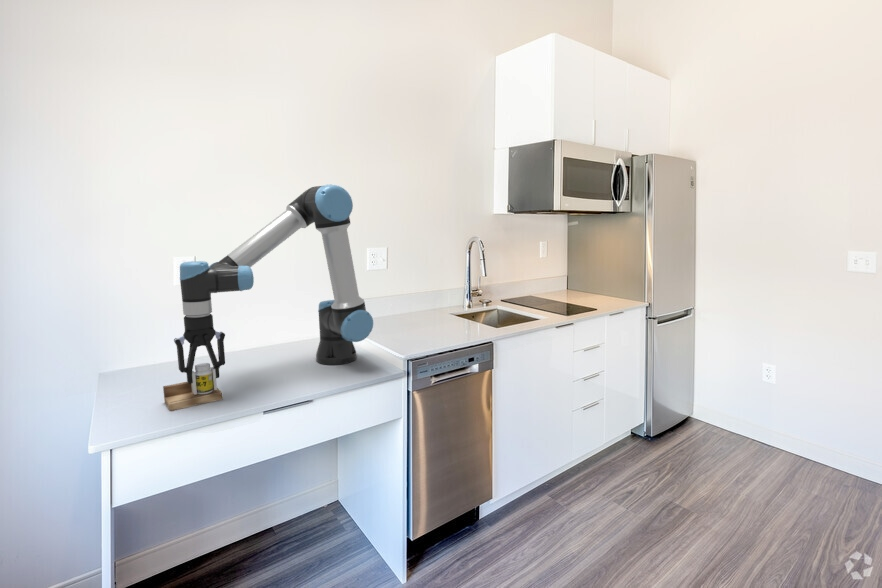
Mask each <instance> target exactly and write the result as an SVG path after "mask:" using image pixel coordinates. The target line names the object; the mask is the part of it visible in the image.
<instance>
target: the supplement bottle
mask: <svg viewBox="0 0 882 588" xmlns="http://www.w3.org/2000/svg"><path fill="white" fill-rule="evenodd" d="M210 367H211V363H209V362H202V363H197V364H195V365H194V372H195V376H196V388H197V394H208V393H211V392H212V391H213V378H212V371H211V370H210Z"/></svg>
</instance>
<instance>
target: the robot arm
mask: <svg viewBox="0 0 882 588" xmlns="http://www.w3.org/2000/svg"><path fill="white" fill-rule="evenodd" d="M353 204H354V203H353V199H352V196H351V195H350V193H349V192H348V191H347V190H346V189H345V188H344V187H342V186H340V185H336V184H325V185H318V186H312V187H310V188H308V189H305V190H304V191H303V192H302V193H301V194H300V195H299V196H297V197H296V198H295V199H294V200H293V201H292V202H290V203H289V204H287V205H286V209H285V211H283V212H282V213H281V214H279V215H278V216H277V217H275V218H274V219H273V220H272V221H270V222H269V223H268V224H266V225H265V226H264V227H262V228H261V229H260V230H259V231H257V232H256V233H255V234H253V235H252V236H250V237H249V238H248V239H247V240H245V241H244V242H243V243H241V245H239V246H238V247H236V248H235V249H234V250H232V251H231V252H230V253H228V254H227V255H225V257H223V258H222V259H220V260H219V261H216V262H213V263H211V264H209V263H208V261H205V260H198V261H197V260H195V261H194V260H192V261H184V262H182V263H180V265H179V283H180V290H181V291H180V292H181V301H182V312H183V315H184V317H183V325H184V333H183V334H182V336H179V337H175V338H174V339H173V342H174V344H175V346H176V353H177V363H178V364H177V365H178V370H179V372H180V373H183V374H185V373H186V382H188V383H189V384H191V385H192V393H193V394H194V395H195V394H197V388H196V376H195V370H194V366H195V365H194V364H195V359H196V358H195V357H196V353H197V350H198V347H201V346H202V347H203V346H204V347H205V348H206V351H207V353H208V356H209V358H210V361H211V364H212V366H210V370H211V371H212V378H213V390H217V388H218V386H217V379H219V378H220V367H222V366H224V365H225V364H226V356H225V343H224V341H225V337H226V333H225V332H223V331H216V329H215V328H214V320H213V319H214V317H213V316H214V315H213V314H211V313H213V306H212V305H213V304H212V294H217V293H228V292H243V291H249V290H251V289H252V288H253V287H254V283H255V282H254V280H255V279H254V278H255V277H254V272H253V269H252V267H253V266H254V265H256V264H257V263H259V262H260V261H261V260H262V259H264V257H266V256H267V255H268V254H270V253H271V252H273V250H275V249H276V248H277V247H279V245H281V244H282V243H283V242H285V241H286V240H287V239H289V238H290V237H291V236H292V235H293V234H295V233H296V232H297V231H299V230H300V229H306V228H308V227H309V226H310V225H311V224H314V227H315V229H316V230H317V231H318V232H320V234H321V238H322V243H323V247H324V254H325V258H326V264H327V268H328V272H329V280H330V284H331V285H330V286H331V289H332V293H333V298H334V299H328V300H323V301H320V302H319V303H318V310H317V313H318V322H319V323H318V326H319V327H318V328H319V343H318V346H317V349H316V354H315V361H316V363H318V364H321V365H327V366H328V365H331V366H332V365H333V366H335V365H336V366H337V365H345V364H349V363H351V362H354V361H355V360H356V359H357V350H356V348H355V344H354V343H358V342H362V341H364V340H365V339H367V338H368V337H369V336H370V334H371V332H372V331H373V328H374V319H373V316H372V314H371V313H370V312H369V311H368V310H367V308H366V304H365V299H364V298H362V297H361V296H360V295H359V288H358V284H357V279H356V273H355V268H354V267H355V266H354V261H353V255H352V250H351V245H350V244H351V243H350V240H349V239H350V238H349V232H348V229H349V226H350V225H351V218H350V216H351V213H352V212H353V208H354V207H353V206H354V205H353ZM214 337H215V339H217V340H216V341H217V344H216V345H217V353H218V354H217V356H216V354H215V352H214V349H213V344H212V342H211V341H212V340H213V338H214ZM185 341H187V343H189V349H188V350H189V351H188V357H187V360H186V362H185V354H184V346H183V345H184V344H185ZM217 357H218V359H217ZM185 363H186V366H185Z"/></svg>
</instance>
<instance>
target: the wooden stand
mask: <svg viewBox="0 0 882 588" xmlns="http://www.w3.org/2000/svg"><path fill="white" fill-rule="evenodd" d="M162 389H163V398H164V404H165V405H166V407H167V409H168V411H169V412H172V411H173V412H174V411H177V410H181V409H186V408H190V407H194V406H198V405H204V404H208V403H211V402H215V401H221V400H223V398H224V397H223V392H222V391H221V390H220V388H218V387H217V390H213V391H212V392H211V393H208V394H195V395H194V394H193V393H192V385H191V384H189V383H188V382H187V381H184V382H178V383H174V384H168V385H163V386H162Z"/></svg>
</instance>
